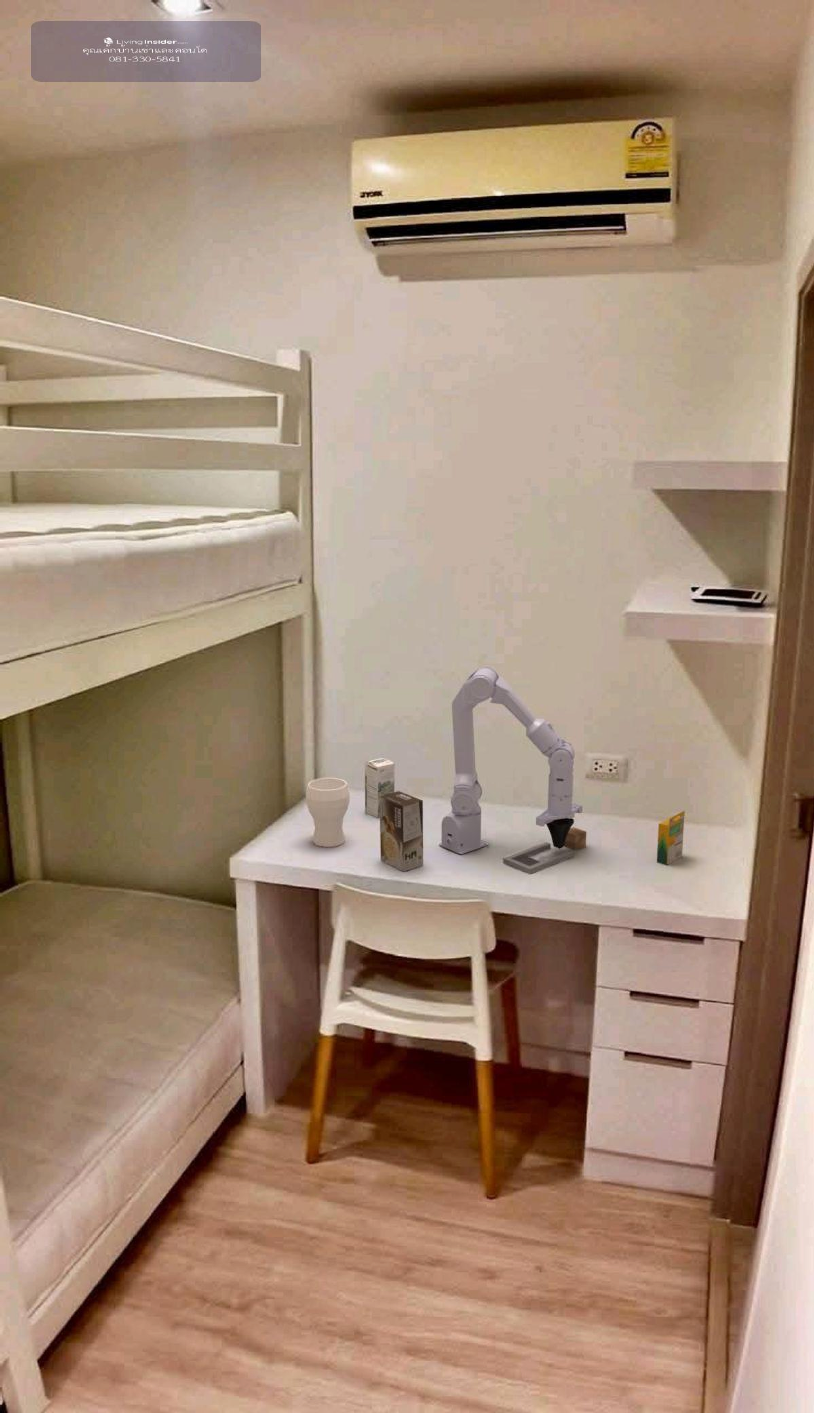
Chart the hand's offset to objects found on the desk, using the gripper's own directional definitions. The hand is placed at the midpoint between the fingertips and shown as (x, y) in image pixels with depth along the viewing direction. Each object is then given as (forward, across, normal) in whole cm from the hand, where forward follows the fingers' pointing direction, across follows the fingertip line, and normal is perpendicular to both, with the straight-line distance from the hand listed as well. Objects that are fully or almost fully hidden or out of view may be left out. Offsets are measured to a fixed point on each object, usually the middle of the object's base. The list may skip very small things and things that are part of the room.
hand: (558, 846), depth 241 cm
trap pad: (+1, -10, 0) cm, 10 cm away
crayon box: (+2, +16, -20) cm, 26 cm away
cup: (+2, -37, +42) cm, 56 cm away
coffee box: (+2, -32, +20) cm, 38 cm away
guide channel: (+1, -6, 0) cm, 7 cm away
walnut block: (+2, +6, 0) cm, 6 cm away
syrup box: (+2, -15, +49) cm, 51 cm away
